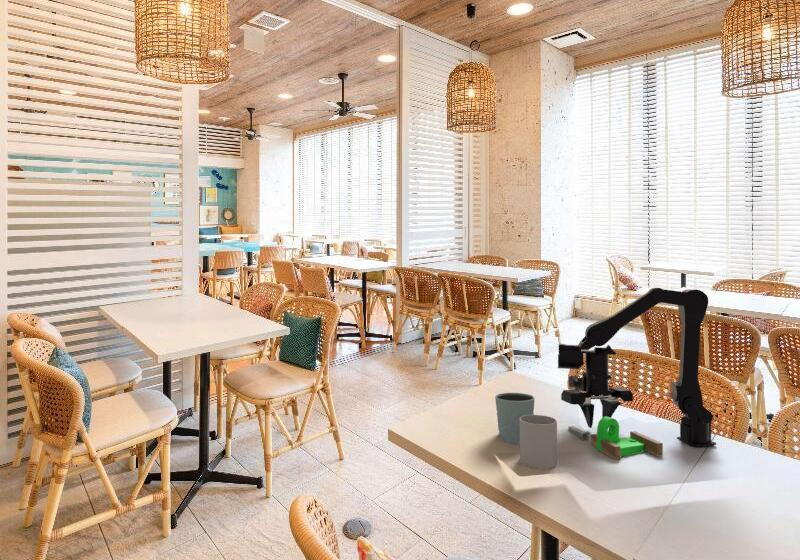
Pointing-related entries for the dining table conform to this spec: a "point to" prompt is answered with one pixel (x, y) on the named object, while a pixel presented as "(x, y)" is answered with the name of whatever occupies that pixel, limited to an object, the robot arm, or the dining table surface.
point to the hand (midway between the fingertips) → (597, 427)
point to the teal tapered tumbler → (512, 414)
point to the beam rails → (615, 450)
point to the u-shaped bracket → (579, 433)
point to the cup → (538, 441)
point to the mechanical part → (617, 437)
